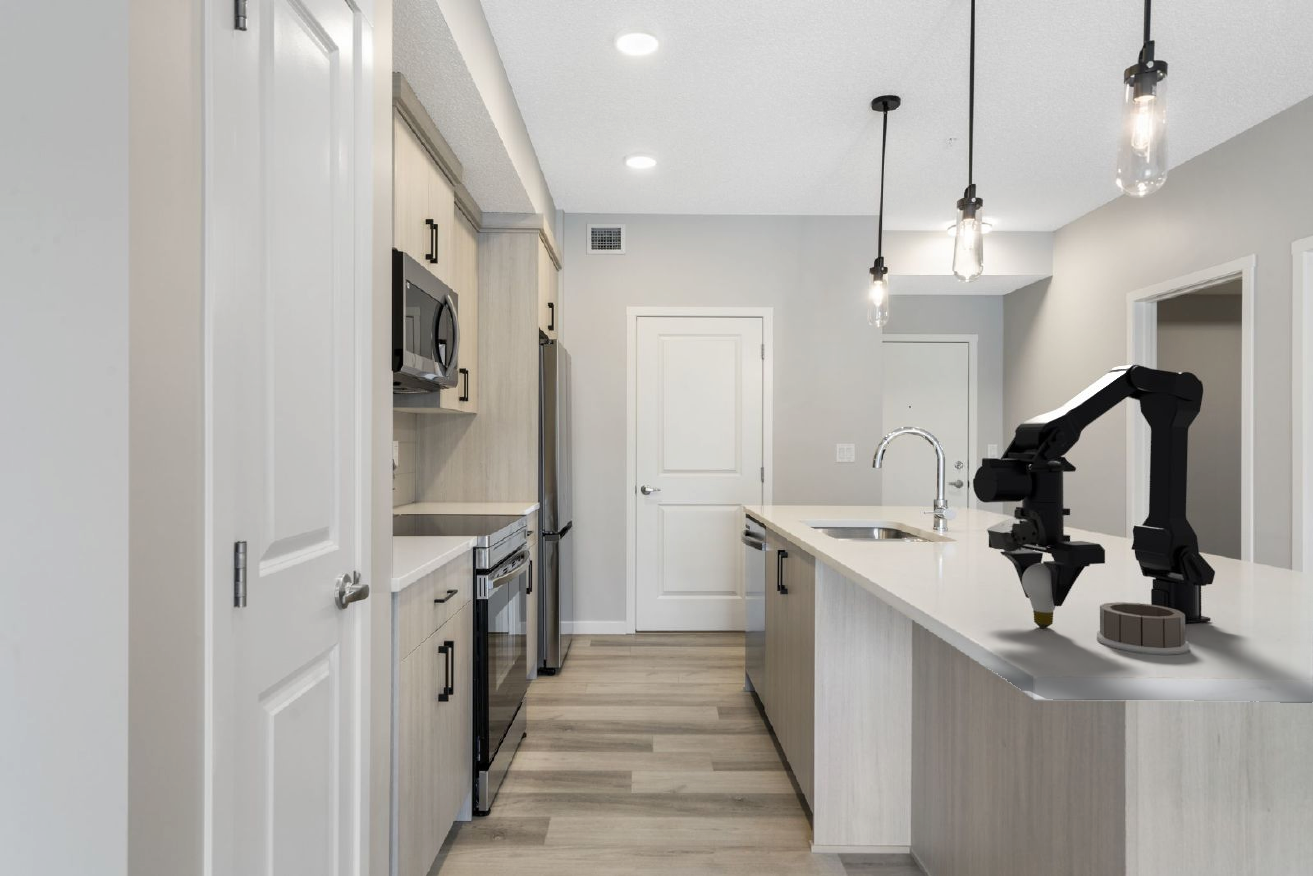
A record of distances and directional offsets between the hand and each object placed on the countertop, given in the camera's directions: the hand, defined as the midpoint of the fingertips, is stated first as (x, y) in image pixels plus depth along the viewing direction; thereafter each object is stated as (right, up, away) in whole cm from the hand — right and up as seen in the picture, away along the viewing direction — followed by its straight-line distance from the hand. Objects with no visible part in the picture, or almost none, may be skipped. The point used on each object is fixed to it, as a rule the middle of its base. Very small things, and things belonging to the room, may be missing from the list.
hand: (1043, 601), depth 116 cm
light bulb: (0, -4, 0) cm, 4 cm away
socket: (+9, -4, -9) cm, 14 cm away
